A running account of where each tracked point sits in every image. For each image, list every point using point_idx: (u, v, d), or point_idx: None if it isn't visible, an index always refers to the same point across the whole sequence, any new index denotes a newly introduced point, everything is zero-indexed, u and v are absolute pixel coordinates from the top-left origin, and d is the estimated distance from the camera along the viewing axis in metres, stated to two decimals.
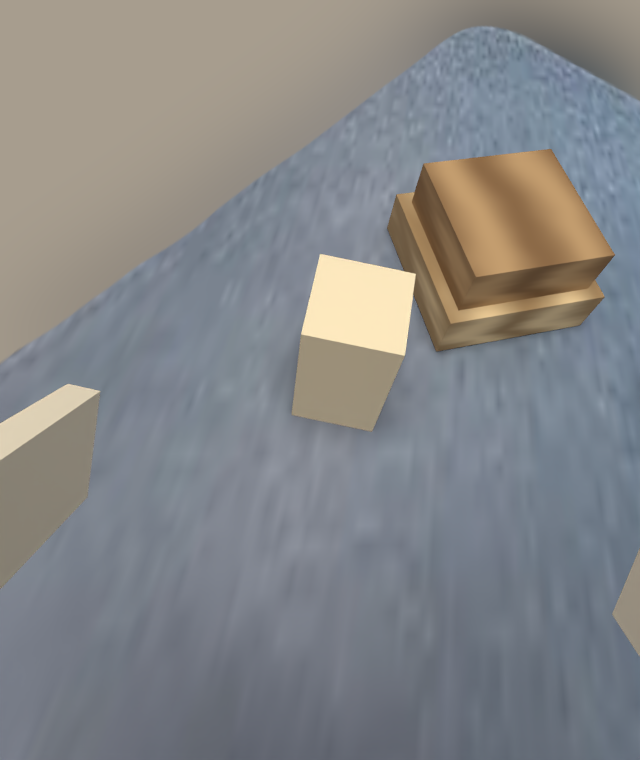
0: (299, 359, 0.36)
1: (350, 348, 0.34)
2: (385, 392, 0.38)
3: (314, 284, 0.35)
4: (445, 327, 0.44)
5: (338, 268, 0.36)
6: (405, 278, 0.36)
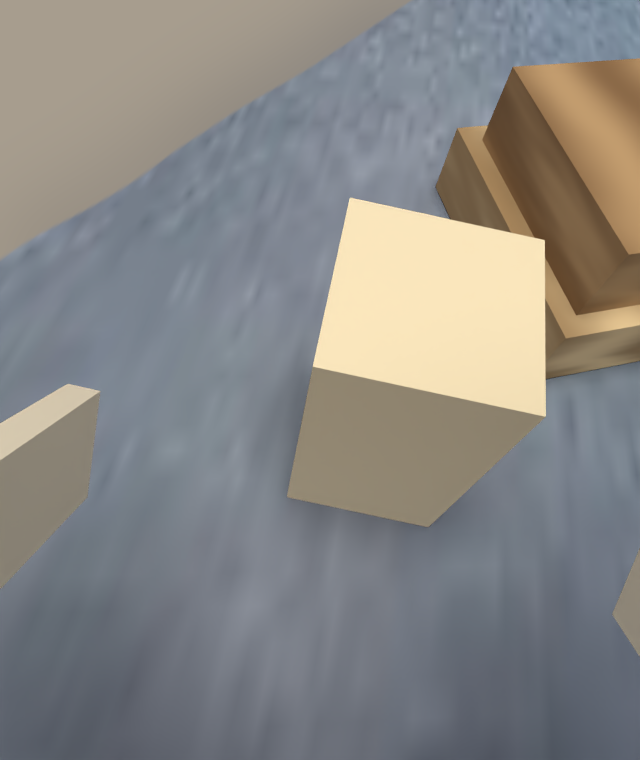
0: (306, 414, 0.17)
1: (422, 399, 0.15)
2: (474, 476, 0.19)
3: (340, 257, 0.17)
4: (551, 343, 0.26)
5: (388, 226, 0.17)
6: (525, 249, 0.18)
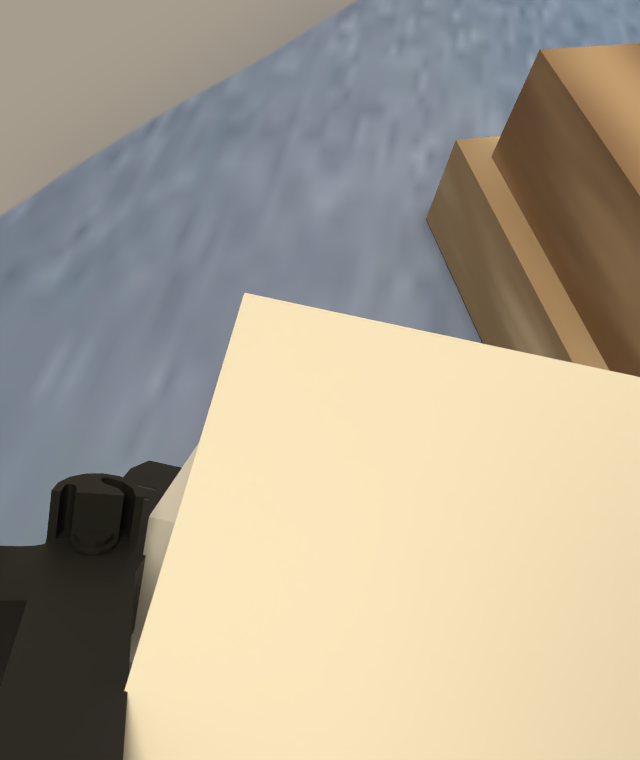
0: None
1: None
2: None
3: (207, 440, 0.07)
4: None
5: (320, 357, 0.08)
6: (607, 400, 0.08)
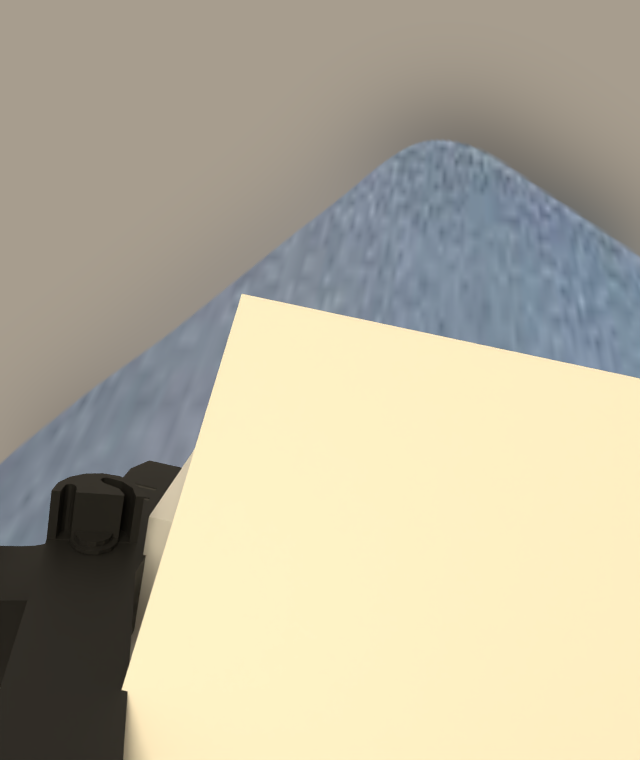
0: None
1: None
2: None
3: (204, 441, 0.07)
4: None
5: (318, 359, 0.08)
6: (604, 401, 0.08)
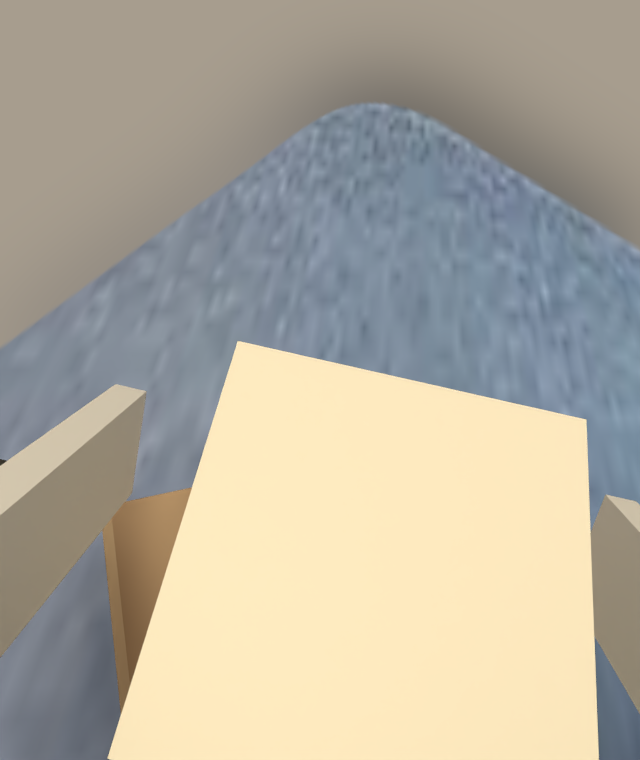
0: None
1: None
2: None
3: (203, 472, 0.09)
4: None
5: (302, 400, 0.10)
6: (552, 439, 0.10)
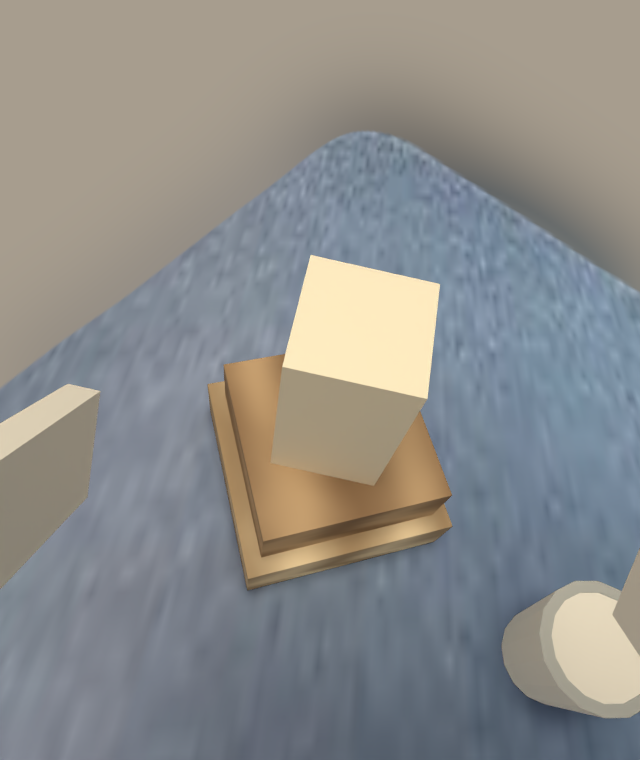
0: (280, 398, 0.26)
1: (351, 387, 0.24)
2: (396, 442, 0.28)
3: (302, 296, 0.26)
4: (246, 576, 0.35)
5: (335, 275, 0.26)
6: (426, 290, 0.27)
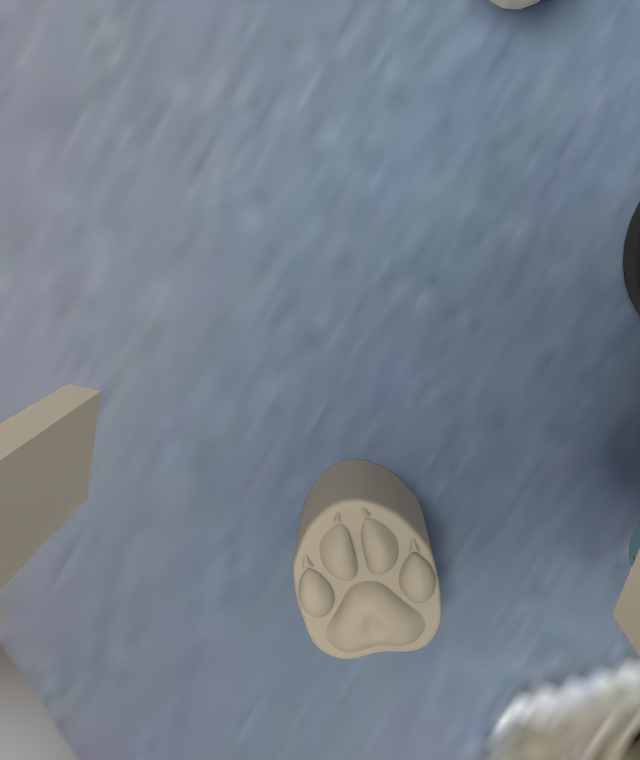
0: None
1: None
2: None
3: None
4: None
5: None
6: None
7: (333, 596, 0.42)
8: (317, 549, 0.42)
